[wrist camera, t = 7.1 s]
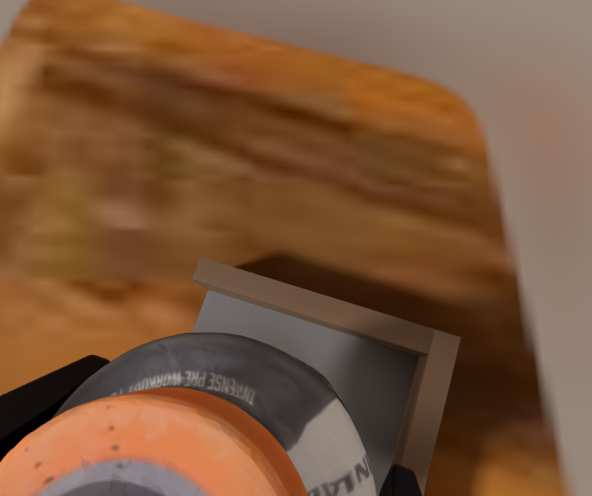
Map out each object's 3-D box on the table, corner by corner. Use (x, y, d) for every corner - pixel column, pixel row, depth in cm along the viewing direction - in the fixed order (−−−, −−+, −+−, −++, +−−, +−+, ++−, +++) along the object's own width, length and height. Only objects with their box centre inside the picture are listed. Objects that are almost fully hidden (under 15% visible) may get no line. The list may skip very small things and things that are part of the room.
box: (377, 613, 18) (384, 658, 15) (130, 509, 20) (94, 532, 17) (444, 342, 21) (461, 337, 18) (218, 272, 22) (200, 256, 20)
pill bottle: (351, 352, 16) (407, 306, 5) (356, 547, 14) (451, 1080, 4) (182, 352, 16) (-103, 307, 5) (169, 541, 15) (-268, 1007, 4)
